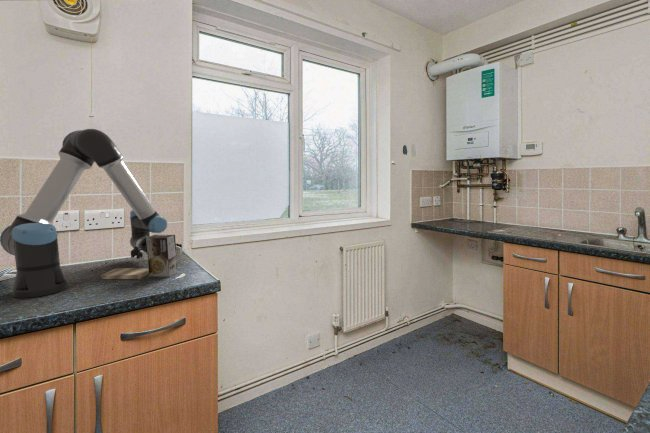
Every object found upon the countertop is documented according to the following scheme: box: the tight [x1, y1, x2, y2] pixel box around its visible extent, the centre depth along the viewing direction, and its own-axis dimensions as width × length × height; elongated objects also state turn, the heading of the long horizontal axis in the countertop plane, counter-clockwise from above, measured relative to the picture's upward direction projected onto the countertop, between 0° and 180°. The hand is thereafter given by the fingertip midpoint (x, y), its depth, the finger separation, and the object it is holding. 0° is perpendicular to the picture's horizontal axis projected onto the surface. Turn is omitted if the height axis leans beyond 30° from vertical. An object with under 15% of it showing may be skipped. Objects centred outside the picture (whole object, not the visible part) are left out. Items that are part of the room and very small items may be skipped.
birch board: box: [100, 267, 149, 280], centre depth 137 cm, size 15×10×2 cm, turn 91°
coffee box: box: [146, 234, 178, 278], centre depth 137 cm, size 9×6×16 cm
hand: (164, 253), depth 137 cm, fingers open, 13 cm apart
